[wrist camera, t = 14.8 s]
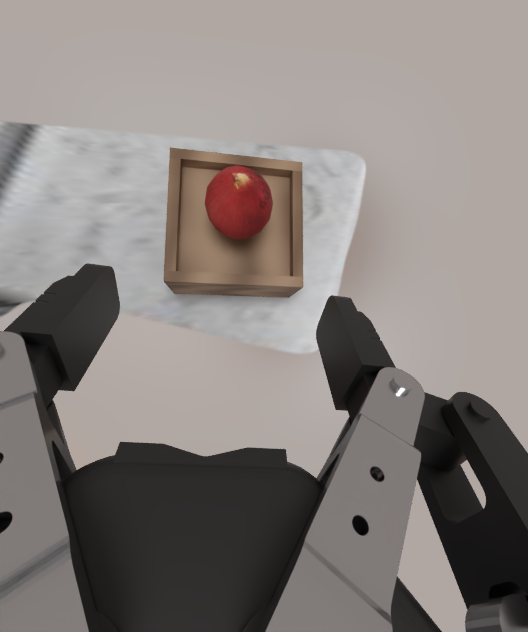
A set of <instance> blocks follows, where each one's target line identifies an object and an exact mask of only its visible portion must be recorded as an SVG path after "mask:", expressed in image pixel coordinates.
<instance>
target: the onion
mask: <svg viewBox="0 0 528 632" xmlns="http://www.w3.org/2000/svg"><path fill="white" fill-rule="evenodd" d="M205 207H206V211H207V214H208V218H209V220H210V221H211V223H212V224H213V226H214V227H215V228H216V229H217V230H218V231H219V232H221V233H222V234H224V235H225V236H227V237H231V238H234V239H238V240H239V239H246V238H251V237H253V236H254V235H256V234H258V233H259V232H261V230H262V229H263V228H264V226H265V225H266V224H267V223H268V221H269V220H270V216H271V212H272V207H273V200H272V195H271V190H270V187H269V185H268V184H267V182H266V181H265V180H264V178H263V177H262V175H261V174H260V173H258V172H256V171H254V170H251V169H249V168H247V167H242V166H238V165H237V166H232V167H226V168H225V169H223V170H222V171H220V172H219V173H217V174H216V175H215V177H214V178H213V179H212V181H211V182H210V183H209V185H208V186H207V191H206V197H205Z"/></svg>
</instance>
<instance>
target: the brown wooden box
mask: <svg viewBox="0 0 528 632" xmlns="http://www.w3.org/2000/svg"><path fill="white" fill-rule="evenodd" d="M237 165H238V166H242V167H247V168H249V169H251V170H254V171H256V172H258V173H260V174H261V175H262V177H263V178H264V180H265V181H266V182H267V184H268V185H269V187H270V190H271V195H272V200H273V207H272V212H271V216H270V220H269V221H268V223H267V224H266V225H265V226H264V228H263V229H262V230H261V232H259V233H258V234H256V235H254V236H253V237H251V238H246V239H239V240H238V239H234V238H231V237H227V236H225V235H224V234H222V233H221V232H219V231H218V230H217V229H216V228H215V227H214V226H213V224H212V223H211V221H210V220H209V218H208V214H207V211H206V207H205V197H206V191H207V186H208V185H209V183H210V182H211V181H212V179H213V178H214V177H215V175H216V174H217V173H219V172H220V171H222V170H223V169H225V168H226V167H232V166H237ZM164 282H165V283H166V285H167V286H168V287H169V288H170V289H171V290H172V291H173V293H178V294H206V295H235V296H263V297H290V296H292V295H293V294H294V293H296V292H297V291H298V290H300V289H301V288H303V208H302V162H294V161H285V160H276V159H267V158H258V157H249V156H240V155H231V154H222V153H213V152H204V151H195V150H186V149H177V148H170V162H169V182H168V203H167V223H166V244H165V264H164Z"/></svg>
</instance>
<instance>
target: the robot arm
mask: <svg viewBox="0 0 528 632" xmlns="http://www.w3.org/2000/svg"><path fill="white" fill-rule="evenodd" d="M119 310H120V302H119V296H118V290H117V285H116V279H115V273H114V270H113V268H112V267H110V266H103V265H95V264H85V265H84V266H83V267H82V268H81V269H80V270H79V271H78V272H77V273H76V274H75V275H74V276H67V277H65V278H63V279H61V280H59V281H57V282H55V283H53V284H52V285H51V286H50V287H49V288H48V289H47V290H46V291H45V292H44V295H43V294H42V295H41V296H40V297H39V298H37V299H36V302H35V303H34V302H33V303H32V304H31V305H30V306H29V307H28V308H27V309H26V310H25V311H24V312H23V313H22V314H21V315H20V316H19V317H18V318H17V319H16V320H15V321H14V322H13V323H12V324H11V325H9V326H8V327H7V328H6V329H5V330H4V331H0V632H442V631H441V630H440V629H439V628H438V626H437V625H436V624H435V623H434V621H433V620H432V619H431V618H430V616H429V615H428V614H427V613H426V611H425V610H424V609H423V608H422V607H421V605H420V604H419V603H418V602H417V600H416V599H415V598H414V597H413V595H412V594H411V593H410V592H409V590H408V589H407V588H406V587H405V585H404V584H403V583H402V582H401V581H400V579H399V578H398V577H397V573H398V568H399V563H400V558H401V553H402V549H403V543H404V538H405V534H406V529H407V524H408V519H409V514H410V509H411V504H412V499H413V495H414V490H415V485H416V480H418V482H419V485H420V488H421V490H422V493H423V495H424V498H425V501H426V503H427V506H428V508H429V511H430V514H431V516H432V519H433V522H434V524H435V527H436V529H437V532H438V534H439V537H440V539H441V542H442V545H443V547H444V550H445V553H446V555H447V558H448V560H449V563H450V566H451V568H452V571H453V573H454V576H455V579H456V581H457V584H458V586H459V589H460V591H461V594H462V597H463V599H464V602H465V604H466V607H467V610H468V611H467V614H466V620H465V627H466V632H528V453H527V452H526V450H525V449H524V448H523V446H522V445H521V444H520V442H519V441H518V439H517V438H516V437H515V435H514V434H513V433H512V431H511V430H510V428H509V427H508V426H507V424H506V423H505V421H504V420H503V419H502V417H501V416H500V415H499V413H498V412H497V411H496V410H495V409H494V408H493V407H492V406H491V405H490V404H488V403H487V402H486V401H484V400H483V399H481V398H479V397H478V396H475V395H473V394H470V393H467V392H458V393H456V394H454V395H453V396H452V397H451V398H450V399H449V400H445V399H442V398H439V397H436V396H434V395H431V394H428V393H425V392H424V390H423V388H422V387H421V385H420V384H419V382H418V381H417V380H416V379H415V378H414V377H412V376H411V375H410V374H408V373H406V372H405V371H403V370H400V369H397V368H396V367H395V365H394V363H393V362H392V360H391V358H390V356H389V354H388V352H387V350H386V349H385V347H384V345H383V343H382V341H380V337H379V335H378V334H377V332H376V330H375V328H374V326H373V324H372V323H371V321H370V320H369V319H368V318H367V317H366V316H365V315H364V314H363V313H362V312H358V311H357V309H356V307H355V305H354V303H353V302H352V299H351V298H348V297H340V296H330V297H329V298H328V300H327V303H326V305H325V308H324V310H323V313H322V316H321V318H320V321H319V323H318V326H317V331H316V339H317V343H318V347H319V351H320V354H321V358H322V361H323V365H324V369H325V372H326V376H327V379H328V383H329V386H330V391H331V394H332V398H333V402H334V405H335V409H336V410H346V411H348V413H349V416H350V417H349V418H348V420H347V422H346V423H345V425H344V427H343V429H342V431H341V434H340V435H339V437H338V439H337V441H336V443H335V445H334V447H333V449H332V451H331V453H330V455H329V457H328V459H327V461H326V463H325V465H324V466H323V468H322V470H321V472H320V473H319V475H318V477H317V478H315V477H314V476H312V475H311V474H310V473H308V472H307V471H305V470H304V469H302V468H301V467H299V466H296V465H294V464H292V463H289V462H287V457H286V450H285V449H265V448H244V449H239V450H235V451H230V452H226V453H221V454H217V455H212V456H208V457H205V456H200V455H197V454H193V453H190V452H187V451H184V450H181V449H178V448H175V447H172V446H169V445H165V444H155V443H133V442H120V444H119V446H118V449H117V452H116V454H115V455H114V456H109V457H106V458H103V459H100V460H97V461H95V462H92V463H90V464H88V465H86V466H84V467H82V468H80V469H78V470H76V467H75V465H74V462H73V460H72V458H71V455H70V452H69V449H68V446H67V442H66V439H65V436H64V433H63V430H62V426H61V423H60V419H59V416H58V413H57V410H56V407H55V404H54V401H53V398H54V396H55V395H56V393H57V391H58V390H65V391H75V389H76V387H77V386H78V384H79V382H80V381H81V379H82V377H83V376H84V374H85V372H86V371H87V369H88V367H89V365H90V364H91V362H92V360H93V359H94V357H95V355H96V354H97V352H98V350H99V348H100V347H101V345H102V343H103V342H104V340H105V338H106V337H107V335H108V333H109V332H110V330H111V328H112V326H113V325H114V323H115V321H116V320H117V318H118V315H119ZM466 460H468V462H469V464H470V466H471V467H472V469H473V471H474V473H475V475H476V477H477V478H478V480H479V482H480V484H481V486H482V487H483V490H484V492H485V496H486V505H485V508H484V509H483V508H482V506H481V504H480V502H479V500H478V498H477V496H476V494H475V492H474V490H473V488H472V486H471V484H470V483H469V481H468V479H467V477H466V475H465V473H464V471H463V469H462V467H461V465H460V464H462V463H463V462H464V461H466Z"/></svg>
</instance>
